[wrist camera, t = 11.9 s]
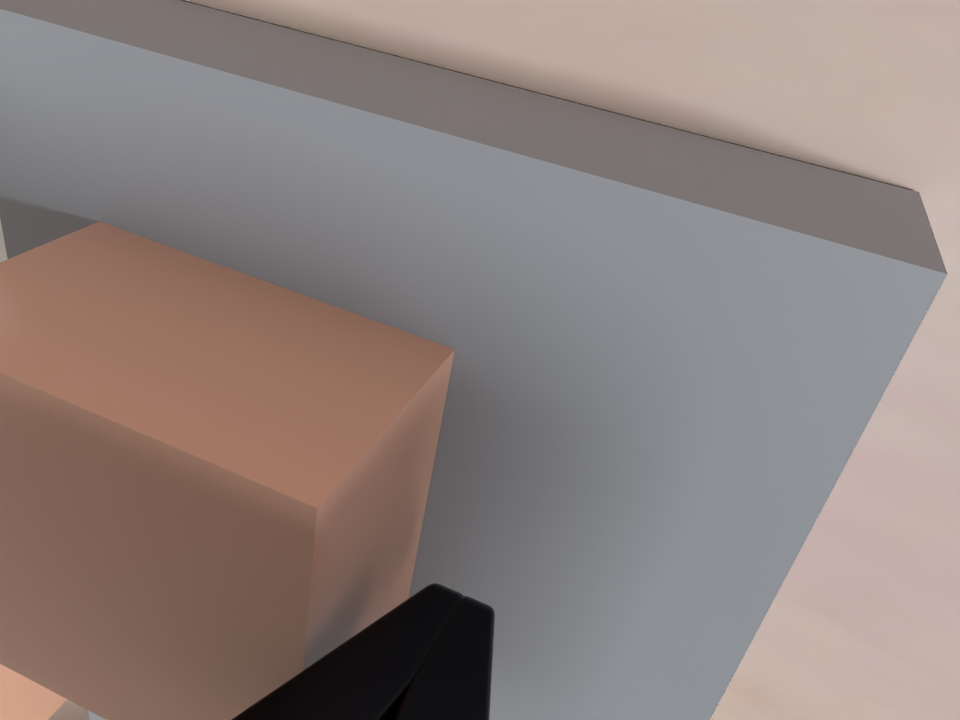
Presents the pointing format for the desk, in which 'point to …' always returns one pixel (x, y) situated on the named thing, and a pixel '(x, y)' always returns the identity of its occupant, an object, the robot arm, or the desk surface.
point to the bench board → (512, 312)
